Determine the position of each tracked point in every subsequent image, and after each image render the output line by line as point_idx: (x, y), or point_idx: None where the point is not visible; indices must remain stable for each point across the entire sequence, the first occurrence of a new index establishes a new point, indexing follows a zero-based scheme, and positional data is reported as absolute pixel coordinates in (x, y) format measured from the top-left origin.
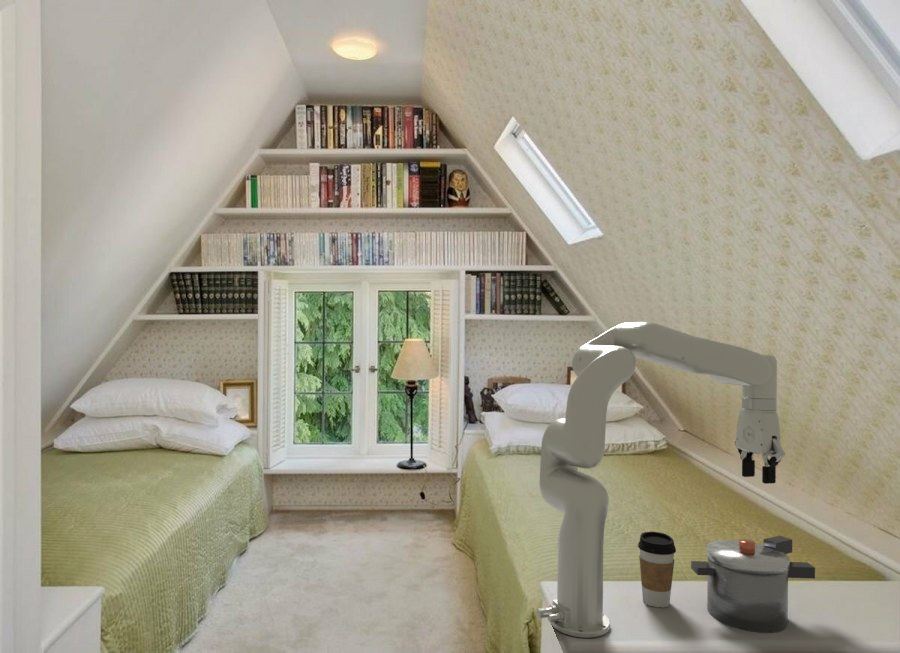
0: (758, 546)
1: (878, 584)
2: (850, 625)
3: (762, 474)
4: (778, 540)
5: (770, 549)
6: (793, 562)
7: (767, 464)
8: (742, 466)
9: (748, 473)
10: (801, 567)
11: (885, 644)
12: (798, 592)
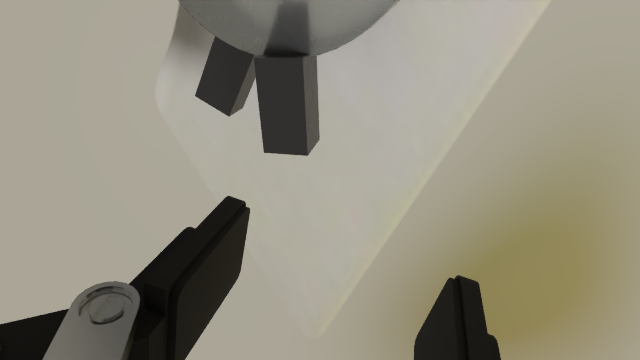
0: (307, 19)
1: (314, 323)
2: (220, 112)
3: (211, 234)
4: (271, 95)
5: (268, 32)
6: (240, 77)
7: (92, 303)
8: (482, 347)
9: (437, 321)
10: (207, 61)
11: (155, 91)
12: (358, 176)
